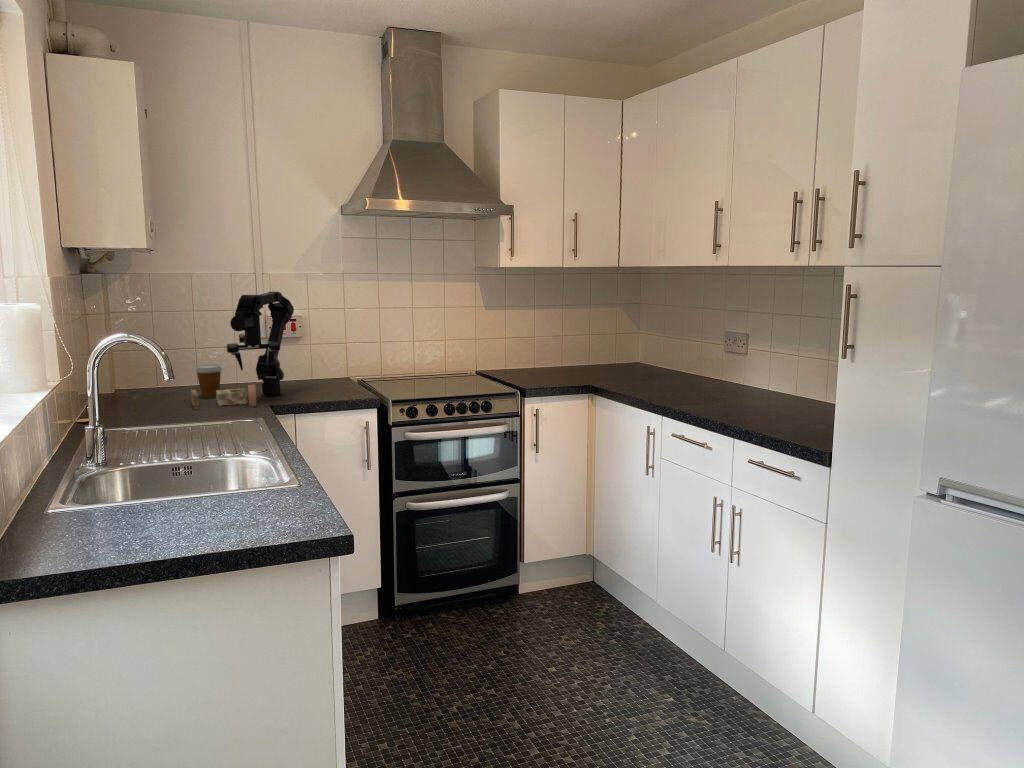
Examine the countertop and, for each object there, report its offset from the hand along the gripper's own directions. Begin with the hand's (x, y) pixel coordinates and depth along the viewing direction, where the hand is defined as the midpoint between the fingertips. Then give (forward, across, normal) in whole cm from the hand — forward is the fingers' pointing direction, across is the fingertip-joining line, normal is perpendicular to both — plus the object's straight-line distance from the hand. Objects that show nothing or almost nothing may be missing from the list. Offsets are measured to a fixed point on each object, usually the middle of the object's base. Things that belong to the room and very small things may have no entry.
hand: (254, 369), depth 285 cm
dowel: (+12, +3, +10) cm, 16 cm away
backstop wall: (+12, +22, +1) cm, 25 cm away
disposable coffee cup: (+12, +15, -16) cm, 25 cm away
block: (+12, +9, +1) cm, 15 cm away
